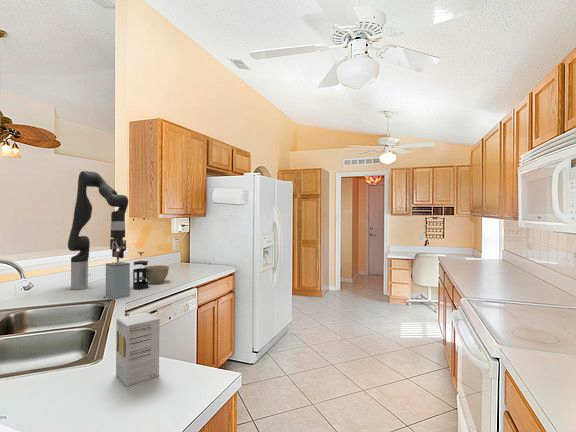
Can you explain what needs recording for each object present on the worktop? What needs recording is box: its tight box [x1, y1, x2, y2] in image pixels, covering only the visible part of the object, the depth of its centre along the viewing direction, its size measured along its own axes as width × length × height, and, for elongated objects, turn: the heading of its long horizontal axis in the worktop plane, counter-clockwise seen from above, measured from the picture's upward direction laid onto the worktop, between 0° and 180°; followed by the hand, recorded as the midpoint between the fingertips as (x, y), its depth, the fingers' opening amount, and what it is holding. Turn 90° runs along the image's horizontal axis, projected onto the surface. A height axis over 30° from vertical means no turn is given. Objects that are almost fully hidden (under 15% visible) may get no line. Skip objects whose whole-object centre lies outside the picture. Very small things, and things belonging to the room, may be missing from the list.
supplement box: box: [115, 311, 161, 387], centre depth 95 cm, size 10×9×17 cm
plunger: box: [113, 250, 120, 264], centre depth 187 cm, size 6×6×24 cm
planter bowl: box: [143, 265, 170, 285], centre depth 226 cm, size 16×16×11 cm
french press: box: [132, 251, 150, 291], centre depth 210 cm, size 12×9×23 cm
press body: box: [105, 261, 131, 300], centre depth 187 cm, size 9×9×19 cm
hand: (117, 257), depth 187 cm, fingers open, 8 cm apart
